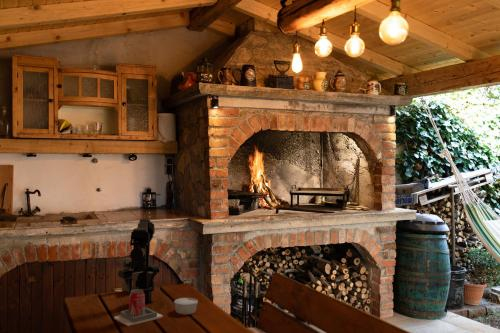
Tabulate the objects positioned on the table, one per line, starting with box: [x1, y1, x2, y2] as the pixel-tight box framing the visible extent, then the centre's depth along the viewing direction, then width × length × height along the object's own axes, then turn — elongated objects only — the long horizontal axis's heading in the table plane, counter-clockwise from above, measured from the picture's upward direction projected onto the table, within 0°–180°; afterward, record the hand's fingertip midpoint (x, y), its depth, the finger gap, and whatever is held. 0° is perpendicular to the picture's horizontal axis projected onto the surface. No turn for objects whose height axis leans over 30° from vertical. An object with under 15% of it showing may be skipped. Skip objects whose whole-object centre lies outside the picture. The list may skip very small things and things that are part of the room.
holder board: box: [113, 306, 164, 327], centre depth 212 cm, size 18×13×3 cm
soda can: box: [128, 289, 146, 317], centre depth 211 cm, size 7×7×12 cm
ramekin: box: [173, 297, 199, 316], centre depth 222 cm, size 11×11×5 cm
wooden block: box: [121, 257, 139, 293], centre depth 254 cm, size 4×11×18 cm, turn 70°
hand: (139, 289), depth 212 cm, fingers open, 9 cm apart
